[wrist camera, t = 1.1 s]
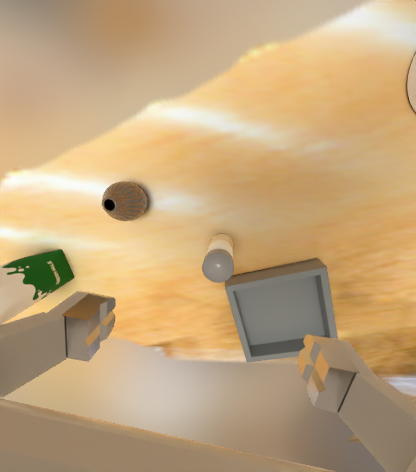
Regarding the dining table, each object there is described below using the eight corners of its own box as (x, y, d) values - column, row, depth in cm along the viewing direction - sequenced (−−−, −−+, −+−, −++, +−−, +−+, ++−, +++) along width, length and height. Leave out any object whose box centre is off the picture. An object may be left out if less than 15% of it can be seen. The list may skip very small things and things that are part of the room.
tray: (317, 258, 38) (326, 267, 34) (329, 335, 42) (339, 350, 38) (225, 277, 41) (225, 286, 38) (245, 347, 46) (247, 362, 42)
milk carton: (30, 252, 45) (-116, 306, 26) (64, 244, 44) (-66, 295, 25) (47, 286, 47) (-77, 359, 28) (80, 280, 46) (-29, 352, 27)
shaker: (229, 230, 39) (229, 250, 28) (235, 252, 40) (237, 279, 29) (207, 236, 40) (198, 257, 29) (213, 257, 41) (207, 285, 30)
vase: (157, 192, 38) (137, 196, 30) (143, 223, 40) (120, 234, 32) (126, 174, 38) (96, 173, 30) (113, 206, 40) (82, 213, 32)
